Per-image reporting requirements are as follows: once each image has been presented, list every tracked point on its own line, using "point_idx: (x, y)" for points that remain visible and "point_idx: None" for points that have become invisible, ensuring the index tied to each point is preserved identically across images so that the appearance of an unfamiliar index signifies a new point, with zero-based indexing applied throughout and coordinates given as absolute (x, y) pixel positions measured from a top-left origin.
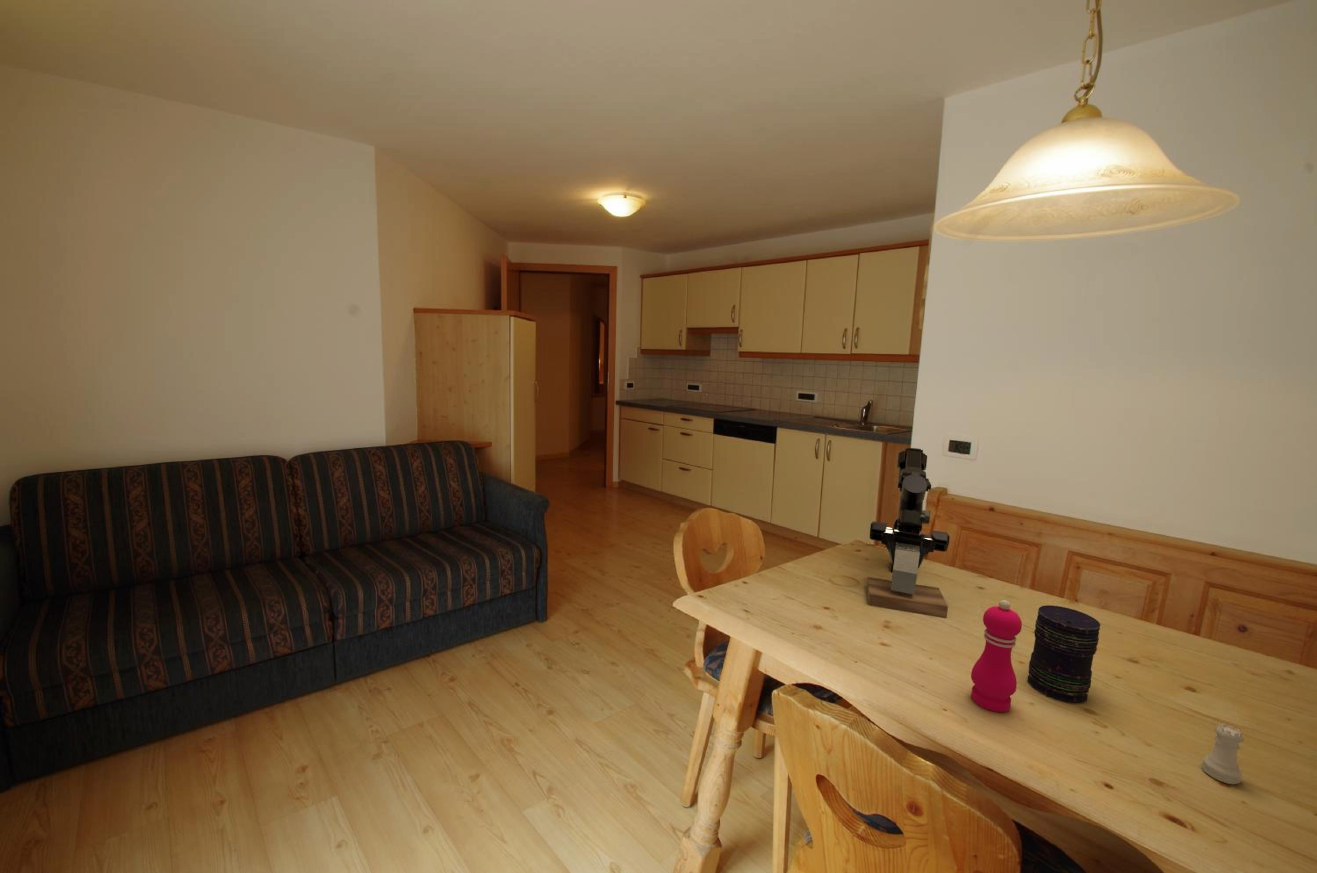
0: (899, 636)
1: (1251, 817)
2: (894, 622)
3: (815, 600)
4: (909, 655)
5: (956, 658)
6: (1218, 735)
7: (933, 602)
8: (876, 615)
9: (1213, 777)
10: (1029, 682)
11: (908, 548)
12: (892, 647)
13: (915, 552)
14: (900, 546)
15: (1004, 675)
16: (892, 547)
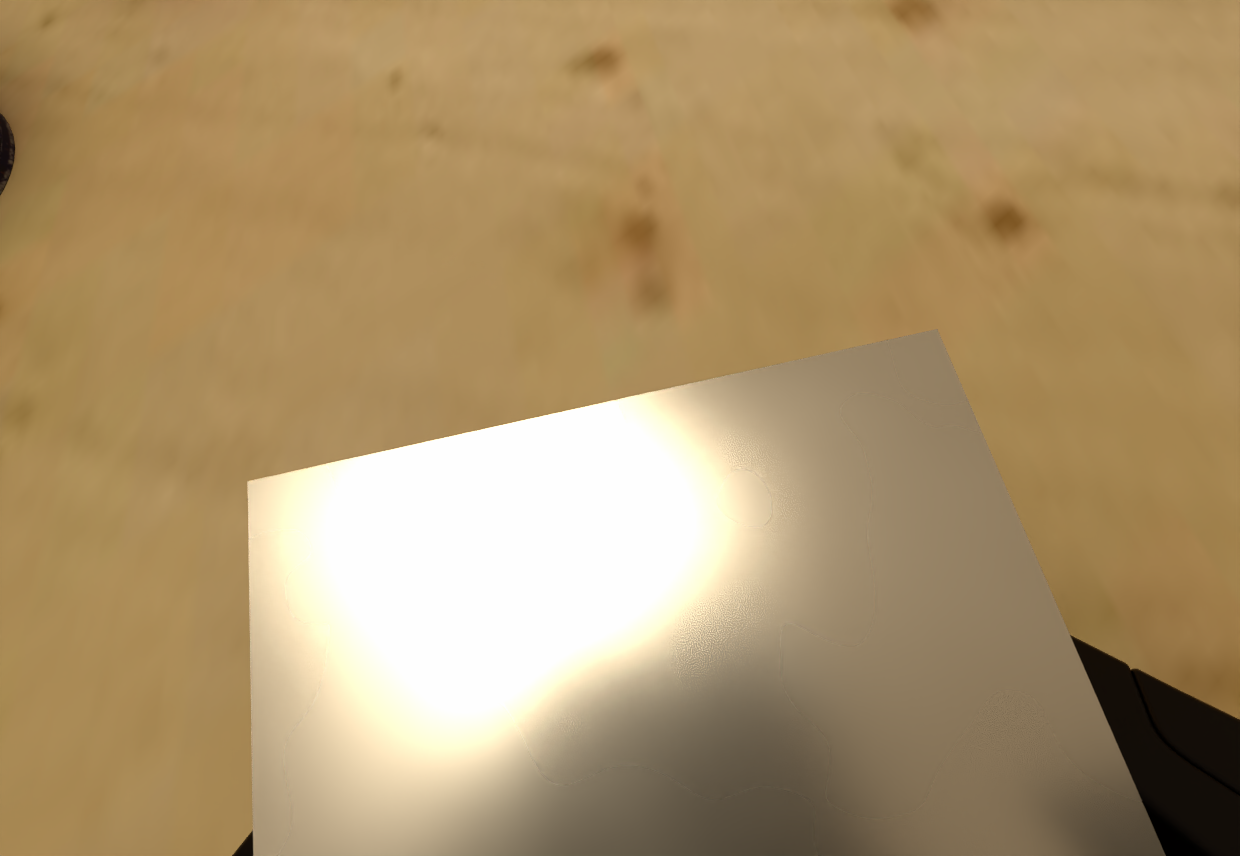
0: (554, 175)
1: None
2: (616, 312)
3: (1119, 271)
4: (480, 45)
5: (288, 150)
6: None
7: None
8: (732, 329)
9: None
10: (5, 135)
11: (630, 696)
12: (559, 60)
13: (373, 456)
14: (934, 732)
15: None
16: (1142, 727)
